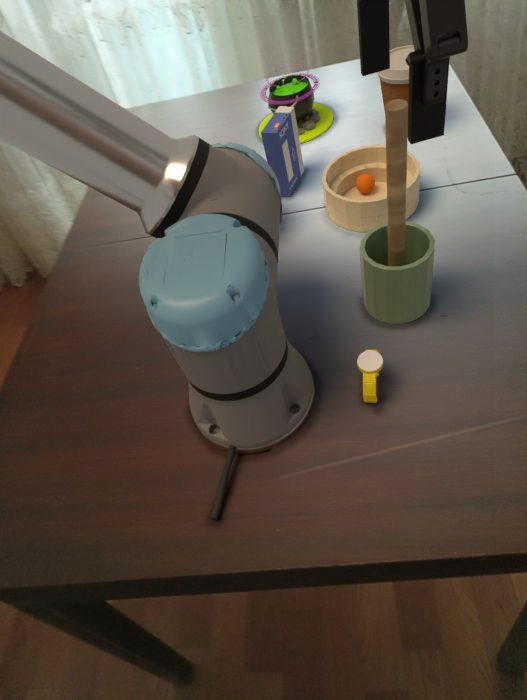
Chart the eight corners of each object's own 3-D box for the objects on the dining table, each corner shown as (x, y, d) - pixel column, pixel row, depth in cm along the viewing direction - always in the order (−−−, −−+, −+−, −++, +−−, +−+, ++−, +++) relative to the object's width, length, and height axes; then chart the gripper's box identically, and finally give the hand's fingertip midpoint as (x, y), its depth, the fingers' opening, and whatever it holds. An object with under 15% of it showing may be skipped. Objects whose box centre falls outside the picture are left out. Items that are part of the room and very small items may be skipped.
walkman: (289, 197, 85) (276, 130, 75) (274, 196, 86) (259, 130, 76) (305, 169, 89) (294, 103, 79) (291, 169, 90) (278, 103, 80)
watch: (361, 367, 61) (358, 337, 56) (385, 368, 60) (384, 337, 55) (358, 410, 57) (355, 381, 53) (383, 411, 56) (382, 382, 52)
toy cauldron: (249, 121, 103) (236, 66, 95) (317, 96, 104) (309, 39, 95) (271, 154, 94) (259, 96, 85) (345, 127, 94) (340, 66, 86)
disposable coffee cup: (374, 142, 89) (371, 73, 80) (382, 114, 94) (380, 46, 85) (429, 141, 86) (433, 69, 77) (435, 111, 91) (439, 40, 82)
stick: (406, 302, 65) (411, 106, 44) (391, 306, 65) (389, 112, 45) (401, 292, 66) (403, 96, 46) (386, 295, 66) (382, 102, 46)
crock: (440, 316, 63) (446, 257, 55) (375, 333, 63) (372, 277, 56) (416, 273, 68) (419, 213, 60) (356, 289, 69) (351, 232, 61)
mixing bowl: (432, 219, 74) (434, 184, 69) (339, 245, 75) (335, 212, 70) (400, 169, 83) (400, 135, 78) (317, 192, 84) (313, 160, 79)
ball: (377, 194, 79) (377, 177, 77) (359, 199, 79) (358, 183, 77) (372, 183, 81) (371, 167, 79) (354, 188, 81) (353, 172, 79)
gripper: (588, -303, 20) (503, 160, 37) (391, -277, 36) (393, 39, 53) (408, -243, 21) (404, 188, 37) (291, -243, 37) (324, 59, 53)
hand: (398, 101), depth 45 cm, fingers open, 13 cm apart
